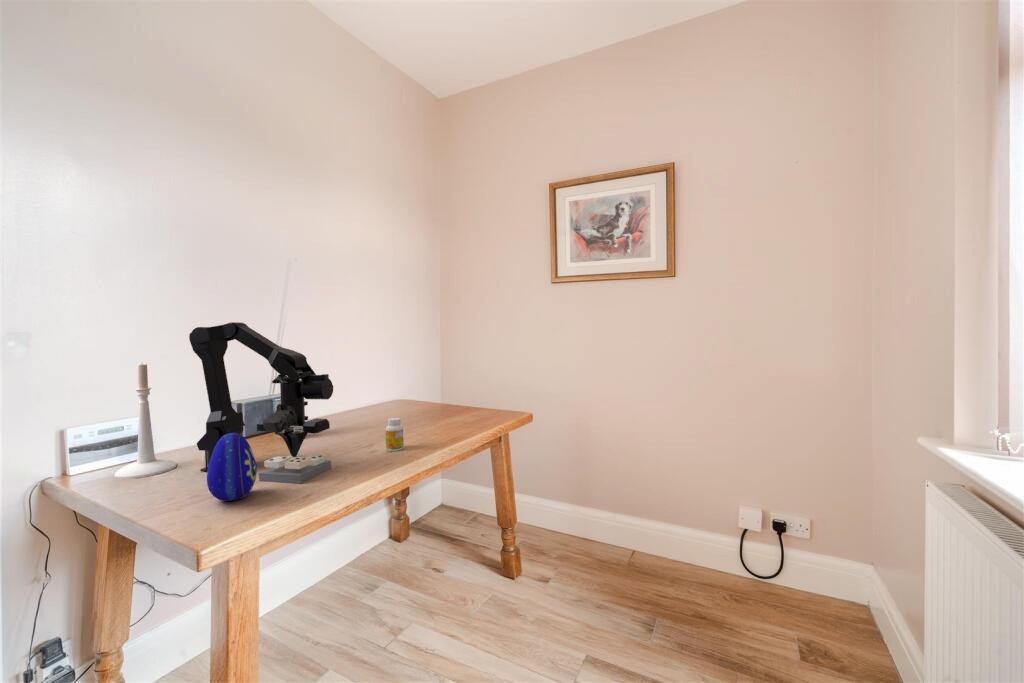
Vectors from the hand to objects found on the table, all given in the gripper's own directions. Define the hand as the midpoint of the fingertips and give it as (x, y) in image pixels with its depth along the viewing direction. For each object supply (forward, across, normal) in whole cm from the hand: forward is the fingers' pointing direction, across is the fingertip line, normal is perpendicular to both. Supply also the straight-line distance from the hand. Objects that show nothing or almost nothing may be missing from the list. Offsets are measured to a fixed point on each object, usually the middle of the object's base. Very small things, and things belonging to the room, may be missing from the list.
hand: (294, 456), depth 113 cm
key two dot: (+1, 0, -6) cm, 6 cm away
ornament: (+4, 0, -20) cm, 20 cm away
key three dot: (+2, +6, 0) cm, 6 cm away
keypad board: (+4, +3, -3) cm, 6 cm away
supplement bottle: (+4, +18, +22) cm, 29 cm away
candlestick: (+4, -41, -8) cm, 42 cm away
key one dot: (+2, 0, 0) cm, 2 cm away
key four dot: (+1, +6, -6) cm, 9 cm away
